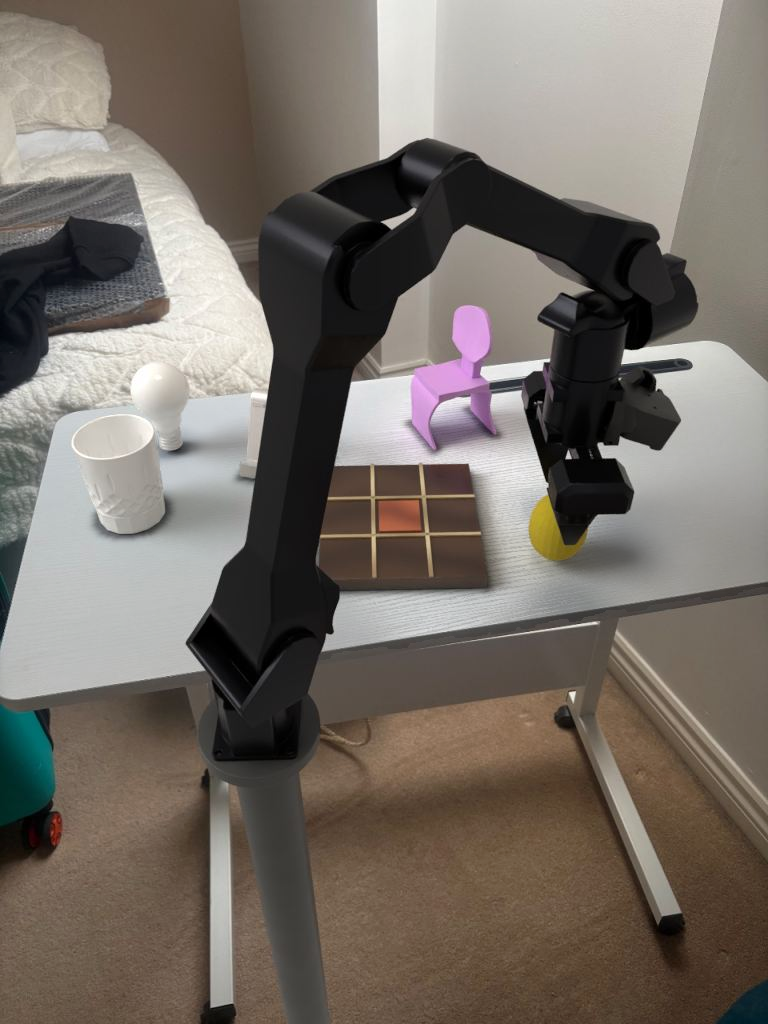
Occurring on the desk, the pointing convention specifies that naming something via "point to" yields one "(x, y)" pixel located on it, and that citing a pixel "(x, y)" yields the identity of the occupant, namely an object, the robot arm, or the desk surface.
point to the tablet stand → (254, 432)
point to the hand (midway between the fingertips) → (559, 511)
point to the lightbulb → (162, 400)
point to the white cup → (121, 471)
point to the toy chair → (456, 373)
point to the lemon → (549, 533)
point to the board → (402, 528)
